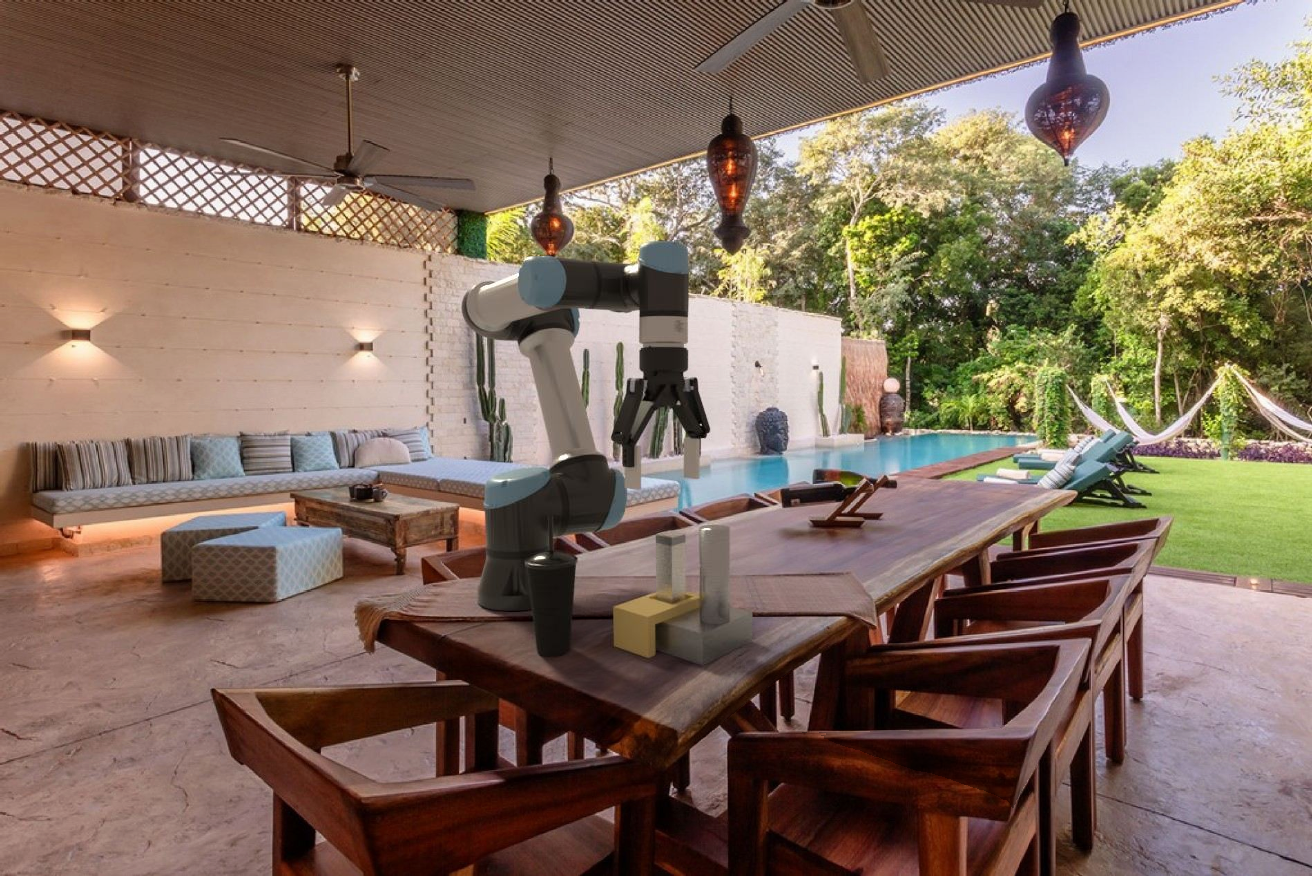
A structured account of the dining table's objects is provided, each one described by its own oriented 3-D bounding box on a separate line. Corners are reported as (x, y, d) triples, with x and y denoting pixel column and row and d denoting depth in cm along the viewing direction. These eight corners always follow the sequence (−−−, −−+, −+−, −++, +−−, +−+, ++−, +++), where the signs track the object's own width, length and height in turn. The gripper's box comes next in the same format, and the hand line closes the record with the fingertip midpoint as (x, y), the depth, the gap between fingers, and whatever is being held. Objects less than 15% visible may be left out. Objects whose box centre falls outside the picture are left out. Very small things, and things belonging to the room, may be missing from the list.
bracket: (613, 646, 105) (613, 606, 105) (671, 623, 115) (670, 587, 114) (648, 658, 101) (647, 617, 100) (705, 633, 110) (704, 595, 110)
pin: (656, 635, 109) (655, 533, 108) (670, 629, 112) (669, 530, 110) (672, 640, 107) (671, 536, 106) (686, 634, 110) (685, 533, 108)
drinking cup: (534, 664, 99) (530, 523, 97) (522, 645, 106) (518, 514, 104) (586, 655, 102) (583, 518, 100) (571, 637, 109) (568, 509, 107)
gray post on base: (625, 639, 108) (624, 523, 106) (676, 619, 117) (675, 511, 115) (702, 665, 98) (702, 537, 96) (752, 641, 107) (752, 523, 105)
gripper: (622, 343, 96) (623, 496, 99) (732, 347, 115) (730, 476, 117) (586, 344, 101) (587, 490, 104) (696, 348, 120) (695, 471, 122)
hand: (663, 483), depth 110 cm, fingers open, 13 cm apart
